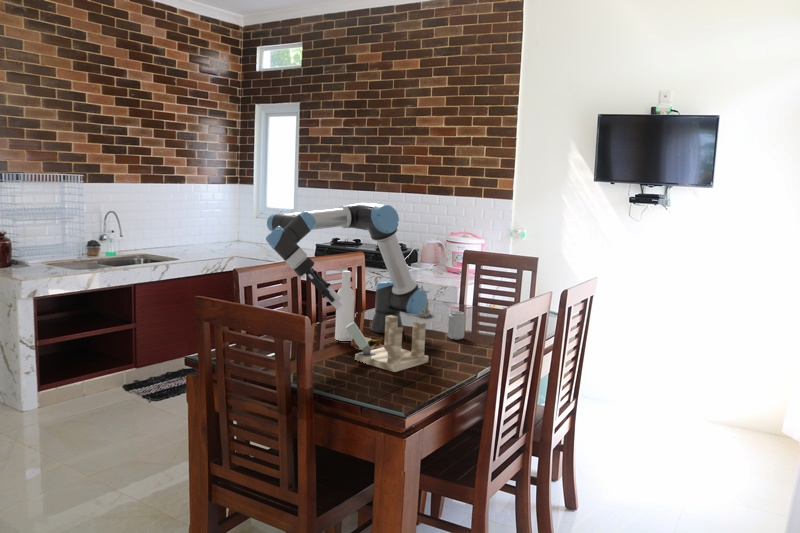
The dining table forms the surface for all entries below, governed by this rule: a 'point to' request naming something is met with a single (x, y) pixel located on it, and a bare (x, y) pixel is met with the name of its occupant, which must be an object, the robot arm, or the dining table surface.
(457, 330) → the can
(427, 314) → the ceramic cottage
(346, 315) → the bottle
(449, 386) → the dining table surface
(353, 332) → the hinged leg
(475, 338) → the dining table surface
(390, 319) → the stool
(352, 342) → the toy sandwich meal
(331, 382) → the dining table surface
